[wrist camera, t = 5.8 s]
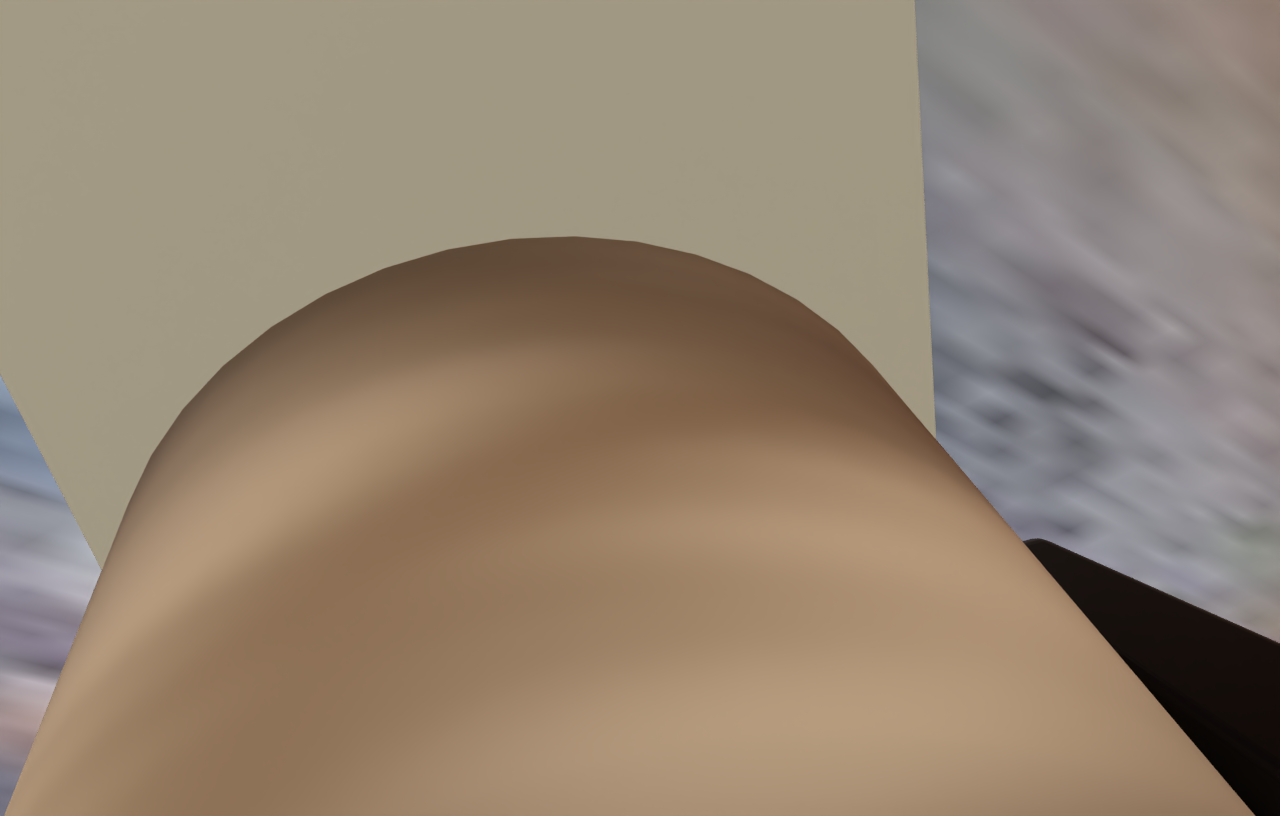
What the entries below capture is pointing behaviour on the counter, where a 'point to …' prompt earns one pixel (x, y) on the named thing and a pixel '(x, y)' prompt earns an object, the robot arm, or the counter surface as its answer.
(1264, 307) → the counter surface
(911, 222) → the mat
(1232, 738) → the robot arm
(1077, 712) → the beige rounded cylinder
